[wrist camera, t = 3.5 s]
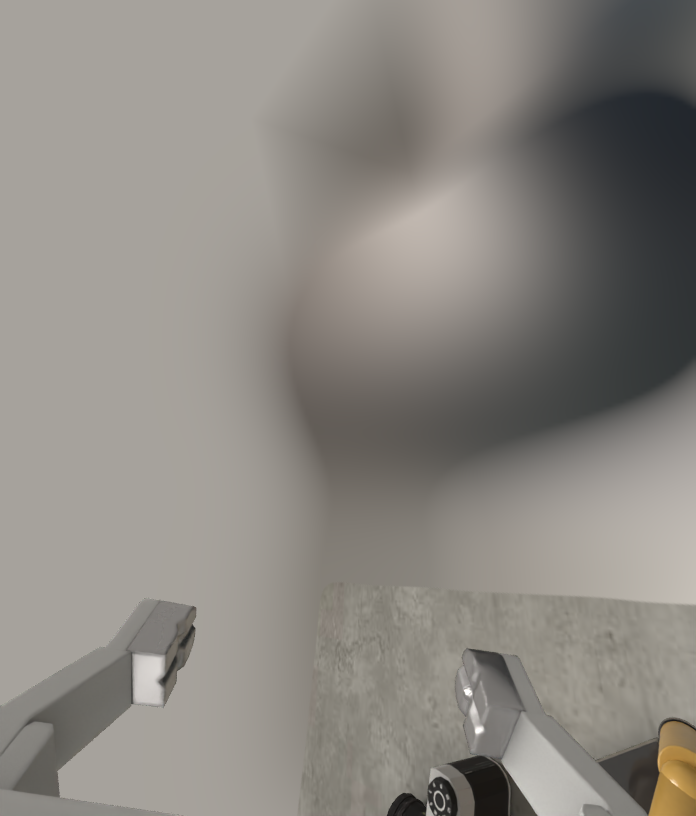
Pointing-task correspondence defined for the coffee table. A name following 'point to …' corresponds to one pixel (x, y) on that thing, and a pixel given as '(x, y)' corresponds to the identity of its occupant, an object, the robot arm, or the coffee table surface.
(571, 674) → the coffee table surface
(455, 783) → the camera
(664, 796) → the spout
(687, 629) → the coffee table surface
